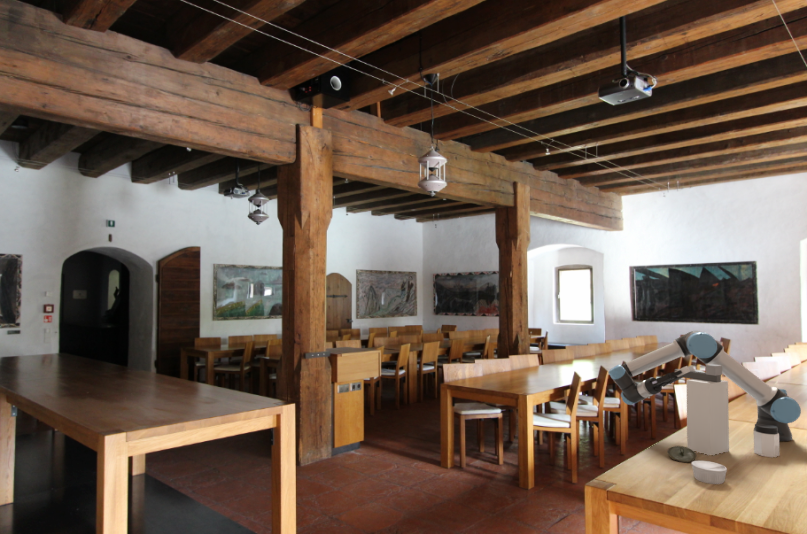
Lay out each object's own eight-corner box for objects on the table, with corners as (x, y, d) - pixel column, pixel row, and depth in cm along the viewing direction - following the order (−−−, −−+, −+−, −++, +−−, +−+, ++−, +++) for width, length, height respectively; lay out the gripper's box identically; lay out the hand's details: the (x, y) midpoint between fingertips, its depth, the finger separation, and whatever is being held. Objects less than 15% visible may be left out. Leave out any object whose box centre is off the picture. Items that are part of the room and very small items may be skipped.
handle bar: (679, 375, 242) (679, 360, 242) (722, 381, 226) (721, 365, 226) (673, 376, 239) (673, 360, 240) (715, 382, 223) (715, 366, 223)
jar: (772, 458, 217) (772, 429, 217) (751, 453, 224) (750, 425, 224) (782, 455, 222) (781, 426, 222) (760, 450, 229) (760, 422, 229)
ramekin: (727, 488, 183) (726, 472, 184) (690, 481, 189) (690, 466, 190) (727, 478, 193) (727, 464, 193) (692, 472, 199) (692, 458, 199)
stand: (705, 445, 235) (705, 377, 236) (729, 451, 226) (728, 381, 228) (687, 449, 228) (686, 379, 229) (710, 456, 219) (709, 383, 221)
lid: (695, 457, 217) (695, 445, 217) (697, 464, 208) (697, 451, 208) (666, 454, 222) (666, 442, 222) (668, 460, 212) (667, 448, 213)
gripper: (663, 393, 254) (705, 375, 237) (642, 396, 246) (684, 377, 229) (656, 378, 258) (697, 359, 241) (635, 381, 250) (675, 361, 233)
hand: (690, 368), depth 235 cm, fingers closed on handle bar, 3 cm apart
